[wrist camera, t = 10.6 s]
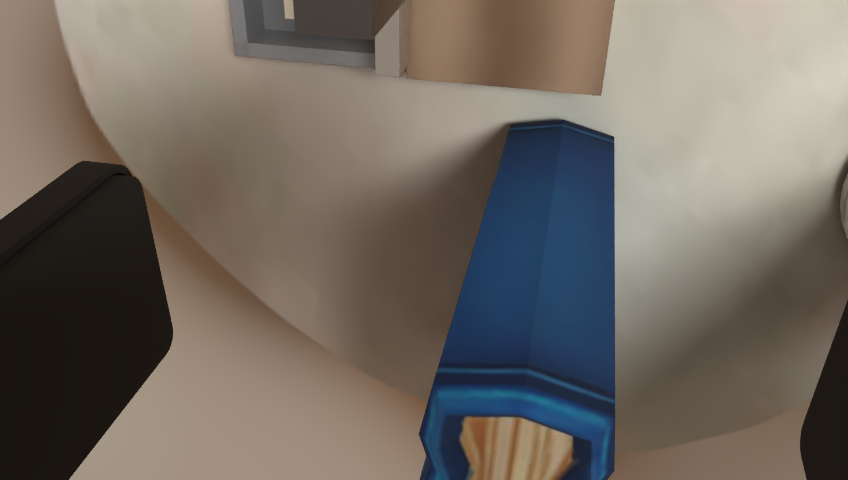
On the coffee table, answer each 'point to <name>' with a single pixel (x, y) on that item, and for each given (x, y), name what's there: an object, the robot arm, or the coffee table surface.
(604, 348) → the book
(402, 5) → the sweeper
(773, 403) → the coffee table surface
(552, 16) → the brown tray
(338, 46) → the box
